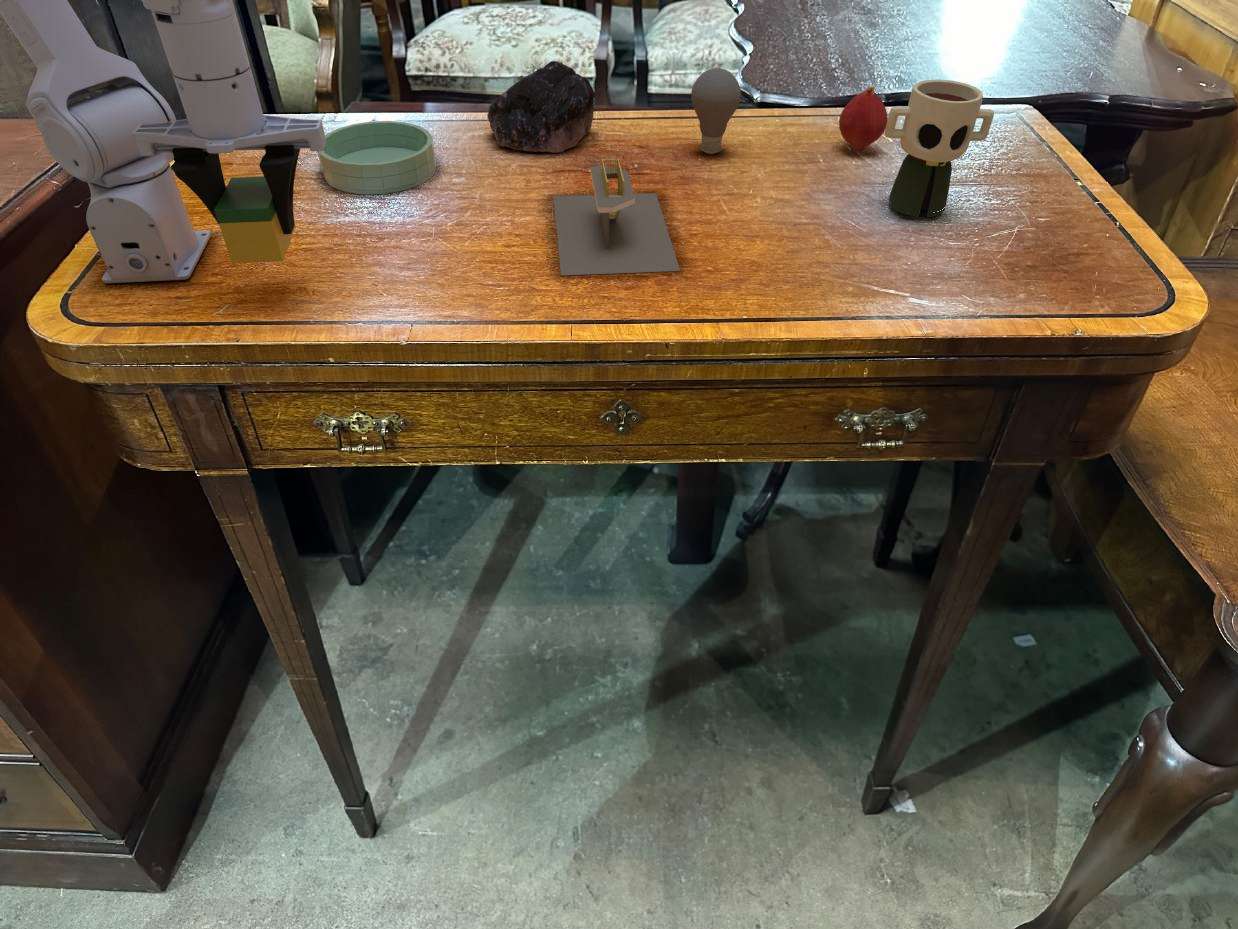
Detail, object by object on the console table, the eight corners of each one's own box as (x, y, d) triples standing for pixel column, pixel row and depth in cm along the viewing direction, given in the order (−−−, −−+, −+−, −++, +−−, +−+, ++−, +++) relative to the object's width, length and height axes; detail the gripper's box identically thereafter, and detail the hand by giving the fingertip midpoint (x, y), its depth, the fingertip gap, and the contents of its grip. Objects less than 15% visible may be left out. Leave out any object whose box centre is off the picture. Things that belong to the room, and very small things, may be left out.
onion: (825, 144, 107) (837, 79, 101) (864, 139, 108) (878, 75, 103) (847, 161, 103) (861, 95, 97) (888, 156, 104) (904, 91, 99)
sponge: (283, 261, 72) (268, 207, 69) (231, 263, 72) (213, 209, 68) (295, 227, 77) (281, 175, 73) (247, 229, 76) (230, 177, 73)
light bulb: (678, 147, 105) (684, 64, 98) (719, 140, 107) (727, 58, 100) (701, 165, 101) (708, 80, 94) (743, 157, 103) (753, 73, 96)
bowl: (434, 192, 94) (429, 162, 92) (316, 196, 93) (309, 166, 91) (438, 147, 104) (434, 119, 102) (331, 150, 103) (325, 122, 100)
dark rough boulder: (474, 134, 109) (462, 57, 102) (561, 106, 114) (556, 31, 106) (523, 177, 102) (514, 98, 94) (613, 146, 107) (612, 68, 99)
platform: (655, 193, 95) (658, 136, 91) (680, 270, 82) (684, 208, 78) (553, 196, 94) (550, 138, 90) (561, 275, 81) (558, 212, 77)
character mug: (872, 221, 91) (902, 100, 82) (861, 193, 96) (888, 76, 87) (971, 225, 90) (1012, 104, 82) (955, 197, 96) (991, 80, 87)
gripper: (96, 88, 60) (162, 255, 70) (298, 84, 62) (337, 248, 71) (126, 58, 65) (184, 217, 75) (312, 55, 67) (347, 211, 76)
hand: (260, 230), depth 73 cm, fingers closed on sponge, 4 cm apart
